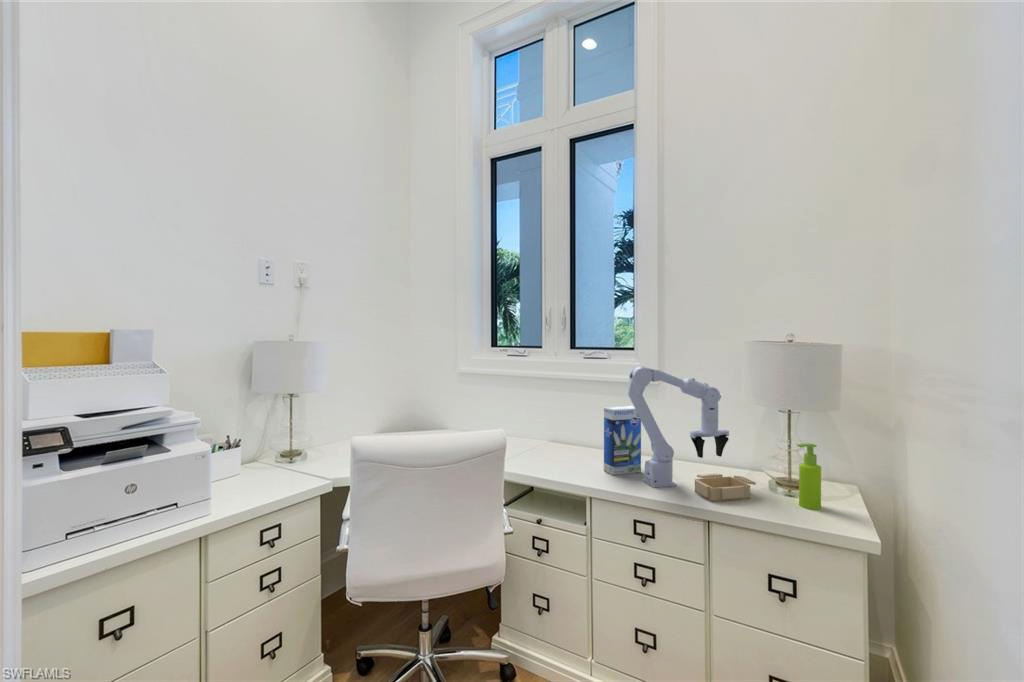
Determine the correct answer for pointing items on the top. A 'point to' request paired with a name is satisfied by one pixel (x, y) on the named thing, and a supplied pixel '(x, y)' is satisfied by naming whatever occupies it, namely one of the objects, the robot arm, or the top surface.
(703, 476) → the flap long
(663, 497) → the top surface
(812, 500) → the soap dispenser
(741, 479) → the flap short
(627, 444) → the string lights box
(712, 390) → the robot arm
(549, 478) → the top surface
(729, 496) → the carton
